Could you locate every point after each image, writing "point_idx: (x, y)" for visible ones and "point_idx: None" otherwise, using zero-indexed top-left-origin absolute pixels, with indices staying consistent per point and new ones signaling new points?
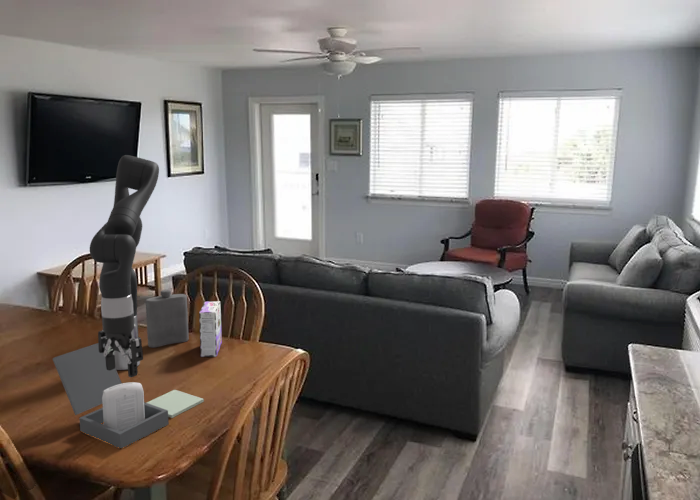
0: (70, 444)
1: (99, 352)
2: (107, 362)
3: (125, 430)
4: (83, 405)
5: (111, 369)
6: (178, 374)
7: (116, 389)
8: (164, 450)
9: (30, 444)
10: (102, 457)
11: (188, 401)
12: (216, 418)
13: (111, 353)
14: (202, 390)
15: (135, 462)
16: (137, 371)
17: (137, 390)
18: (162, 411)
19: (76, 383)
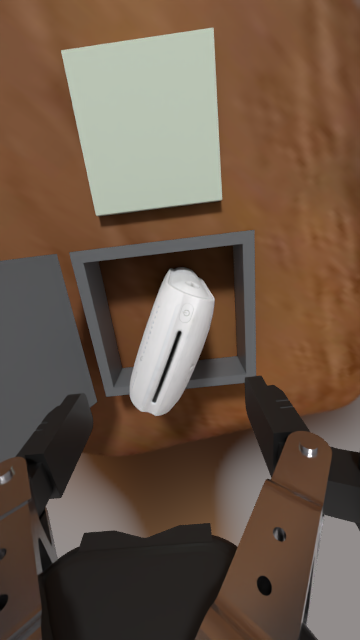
0: None
1: None
2: (74, 466)
3: (251, 366)
4: (79, 390)
5: (89, 411)
6: None
7: (177, 390)
8: (327, 312)
9: (95, 444)
10: (241, 395)
11: (186, 90)
12: (335, 106)
13: (35, 488)
14: None
15: (309, 370)
16: (285, 395)
17: (210, 321)
18: (246, 245)
19: (10, 431)
